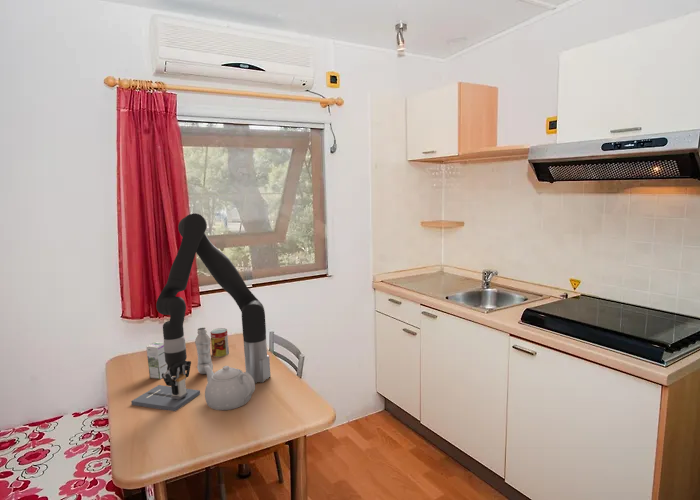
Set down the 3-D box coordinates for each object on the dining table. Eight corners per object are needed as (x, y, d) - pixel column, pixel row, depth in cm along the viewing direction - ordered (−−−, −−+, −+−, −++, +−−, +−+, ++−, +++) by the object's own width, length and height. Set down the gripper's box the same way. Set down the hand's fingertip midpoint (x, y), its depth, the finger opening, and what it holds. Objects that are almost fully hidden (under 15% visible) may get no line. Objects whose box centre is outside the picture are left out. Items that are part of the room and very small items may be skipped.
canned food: (212, 352, 212) (210, 329, 210) (228, 350, 214) (226, 327, 212) (212, 358, 204) (210, 334, 203) (229, 355, 206) (227, 332, 205)
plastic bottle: (203, 377, 182) (199, 332, 180) (194, 373, 187) (190, 329, 184) (216, 371, 188) (213, 328, 185) (207, 368, 192) (203, 325, 189)
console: (200, 394, 167) (199, 390, 166) (175, 411, 154) (174, 407, 153) (159, 388, 173) (158, 384, 173) (131, 404, 160) (131, 400, 160)
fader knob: (188, 394, 162) (186, 374, 161) (180, 399, 158) (178, 379, 157) (178, 392, 164) (176, 373, 163) (170, 398, 160) (168, 378, 159)
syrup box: (169, 373, 187) (166, 342, 185) (160, 379, 182) (156, 347, 180) (158, 372, 189) (155, 341, 187) (148, 378, 183) (145, 346, 181)
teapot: (202, 417, 149) (199, 380, 147) (205, 394, 166) (202, 361, 165) (256, 408, 154) (254, 372, 152) (254, 387, 171) (251, 354, 170)
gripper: (169, 356, 151) (174, 402, 153) (195, 342, 164) (199, 385, 166) (152, 354, 153) (157, 399, 155) (179, 341, 166) (183, 383, 169)
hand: (179, 392), depth 161 cm, fingers closed on fader knob, 3 cm apart
